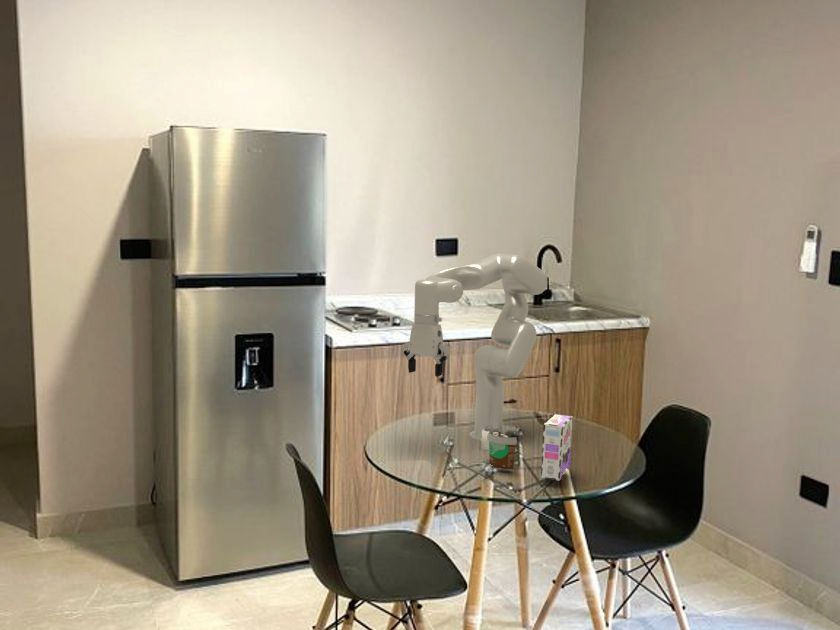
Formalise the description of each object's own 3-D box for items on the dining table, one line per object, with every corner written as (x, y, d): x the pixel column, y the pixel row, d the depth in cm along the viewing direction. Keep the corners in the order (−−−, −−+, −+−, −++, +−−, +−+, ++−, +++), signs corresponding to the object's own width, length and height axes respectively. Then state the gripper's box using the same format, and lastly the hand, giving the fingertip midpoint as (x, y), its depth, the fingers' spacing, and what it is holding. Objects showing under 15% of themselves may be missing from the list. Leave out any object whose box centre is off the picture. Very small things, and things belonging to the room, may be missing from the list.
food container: (478, 460, 264) (479, 429, 263) (496, 458, 267) (497, 427, 266) (497, 472, 253) (499, 439, 252) (515, 470, 256) (517, 437, 254)
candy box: (559, 481, 247) (562, 425, 244) (540, 478, 249) (542, 423, 247) (570, 468, 259) (573, 415, 257) (551, 465, 261) (554, 413, 259)
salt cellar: (492, 446, 281) (493, 424, 280) (496, 450, 276) (497, 428, 276) (479, 446, 280) (480, 425, 279) (483, 450, 275) (484, 428, 275)
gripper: (456, 321, 263) (455, 375, 266) (409, 315, 272) (408, 368, 275) (444, 323, 257) (442, 379, 259) (396, 318, 266) (395, 372, 268)
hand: (425, 373), depth 267 cm, fingers open, 9 cm apart
